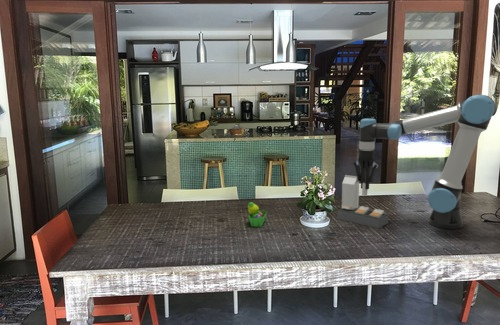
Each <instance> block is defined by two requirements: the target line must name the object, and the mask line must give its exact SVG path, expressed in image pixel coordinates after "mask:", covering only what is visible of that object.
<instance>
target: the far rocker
mask: <svg viewBox="0 0 500 325" xmlns="http://www.w3.org/2000/svg"><path fill="white" fill-rule="evenodd" d="M342 208H345V209H350V210H354V209H355V207H350V206H344V205H343V206H342V205H341V209H342Z"/></svg>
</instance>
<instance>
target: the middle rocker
mask: <svg viewBox="0 0 500 325" xmlns="http://www.w3.org/2000/svg"><path fill="white" fill-rule="evenodd" d="M367 211H370V207H368V206H362V205H361V206H359V207H358V210H357V211H355V213H358V214H363V215H364V214H365V213H366V212H367Z"/></svg>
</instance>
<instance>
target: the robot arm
mask: <svg viewBox="0 0 500 325" xmlns="http://www.w3.org/2000/svg"><path fill="white" fill-rule="evenodd" d="M495 111H496V103H495V101H494V100H493V99H492V97H491V96H489V95H486V94H475V95H472V96H469V97H468V98H467V99H466V100H464V101H459V102H458V103H457V104H456V105H453V106H449V107H445V108H442V109H438V110H434V111H430V112H426V113H423V114H419V115H415V116H411V117H407V118H403V119H399V120H394V121H391V122H388V123H384V122H383V123H379V122H377V119H375V118H362V119H361V120H360V124H359V140H358V149H359V150H358V159H357V161H353V165H354V167H355V173H356V176H357V180H358V181H359V183H360V189H361V196H363V197H366V196H368V190H369V189H370V184H371V183H373V182H374V180H375V175H376V173H377V169H378V168H379V166H380V165H379V163H376V162H375V149H376V148H375V145H376V144H375V143H376V139H380V140H381V139H383V140H384V139H385V140H390V141H391V140H392V141H393V140H400V139H401V136H403V135H404V136H405V135H407V134H412V133H417V132H421V131H424V130H429V129H432V128H437V127H441V126H446V125H449V124H453V123H457V124H458V126H459V128H458V130H457V133H456V136H455V139H454V141H453V143H452V146H451V148H450V152H449V153H448V154H449V155H448V156H447V159H446V162H445V164H444V167H443V169H442V172H441V175H440V176H439V177H436V179H435V180H434V183H433V186H432V189H431V191H429V193H428V196H427V202H428V204H429V207H430V208H431V209H432V211H431V212H430V215H429V218H428V223H429V224H430V225H431V226H433V227H437V228H441V229H446V230H456V229H461V228H463V226H464V221H463V216H462V214H461V197H462V191H463V188H464V186H463V185H462V184H463V183H462V181H463V178H464V175H465V173H466V170H467V168H468V166H469V164H470V161H471V158H472V155H473V154H474V151H475V148H476V145H477V143H478V141H479V138H480V136H481V134H482V133H483V132H484V131H487V130H488V127H489V125H490V121H491V119H492V117H493V115H494V114H495Z"/></svg>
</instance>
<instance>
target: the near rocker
mask: <svg viewBox="0 0 500 325" xmlns="http://www.w3.org/2000/svg"><path fill="white" fill-rule="evenodd" d="M382 214H385V210H383V209H377V208H375V209H373V212H372V213H371V214H370V216H373V217H378V218H379V217H380V216H381V215H382Z"/></svg>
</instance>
